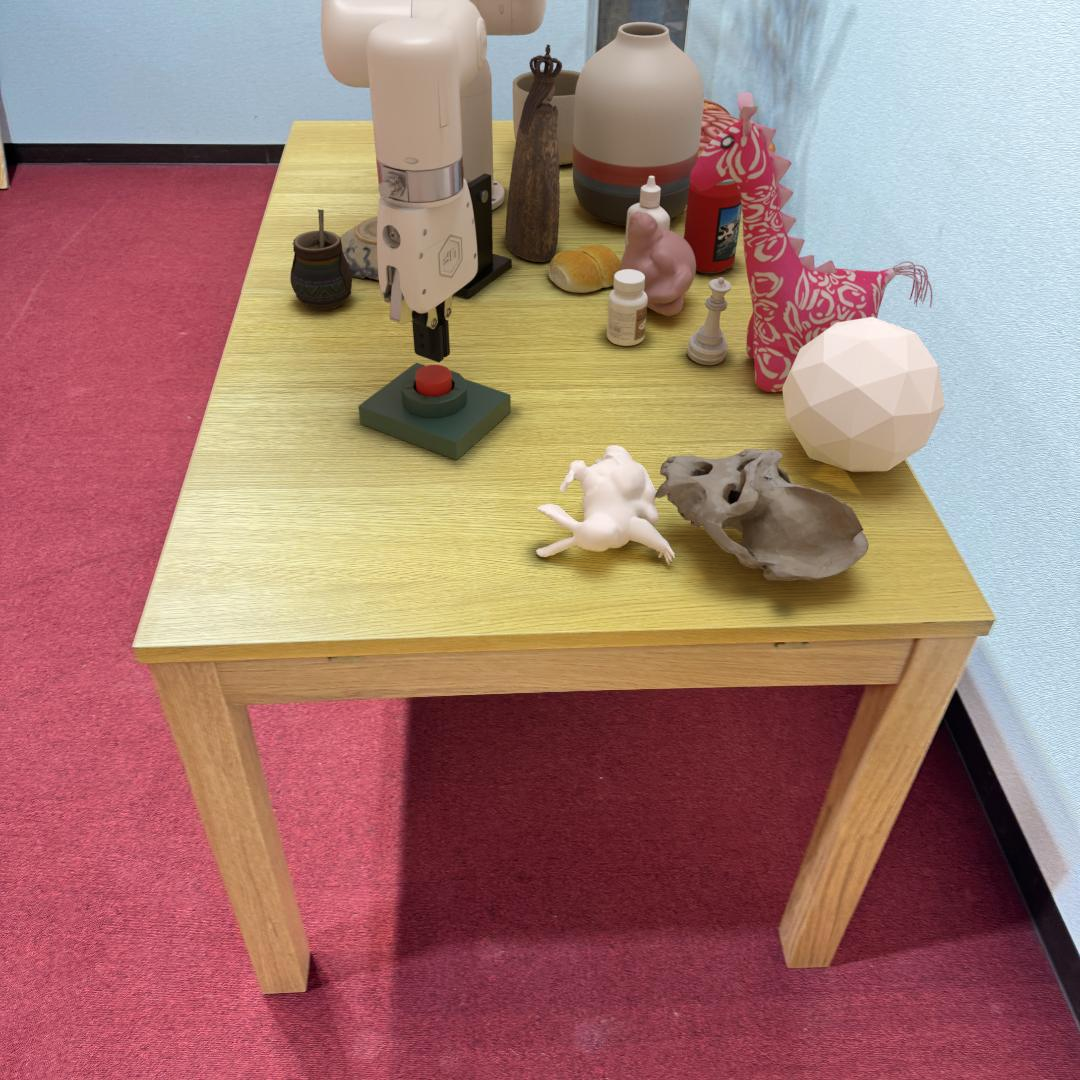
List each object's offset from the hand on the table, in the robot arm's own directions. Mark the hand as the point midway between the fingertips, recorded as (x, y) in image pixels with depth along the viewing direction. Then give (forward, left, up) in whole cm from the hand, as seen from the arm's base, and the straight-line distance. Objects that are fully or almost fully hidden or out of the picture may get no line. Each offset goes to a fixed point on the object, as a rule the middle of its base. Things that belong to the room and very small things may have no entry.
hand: (432, 354), depth 107 cm
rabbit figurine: (+26, -5, -6) cm, 27 cm away
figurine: (+9, +34, -8) cm, 36 cm away
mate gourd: (-26, +13, -8) cm, 30 cm away
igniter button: (0, 0, -4) cm, 4 cm away
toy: (+29, +27, -8) cm, 40 cm away
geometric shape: (+34, +21, -3) cm, 41 cm away
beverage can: (+10, +47, -8) cm, 48 cm away
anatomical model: (+6, +69, -3) cm, 69 cm away
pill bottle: (+9, +25, -8) cm, 27 cm away
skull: (+30, -2, -10) cm, 31 cm away
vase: (-6, +56, -7) cm, 57 cm away
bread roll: (-2, +35, -8) cm, 36 cm away
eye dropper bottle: (+3, +41, -8) cm, 42 cm away
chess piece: (+19, +26, -7) cm, 33 cm away
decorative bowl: (-27, +27, -8) cm, 39 cm away
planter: (-26, +67, -7) cm, 72 cm away
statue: (-12, +39, -8) cm, 41 cm away
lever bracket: (-15, +28, -7) cm, 32 cm away
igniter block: (0, 0, -7) cm, 7 cm away
